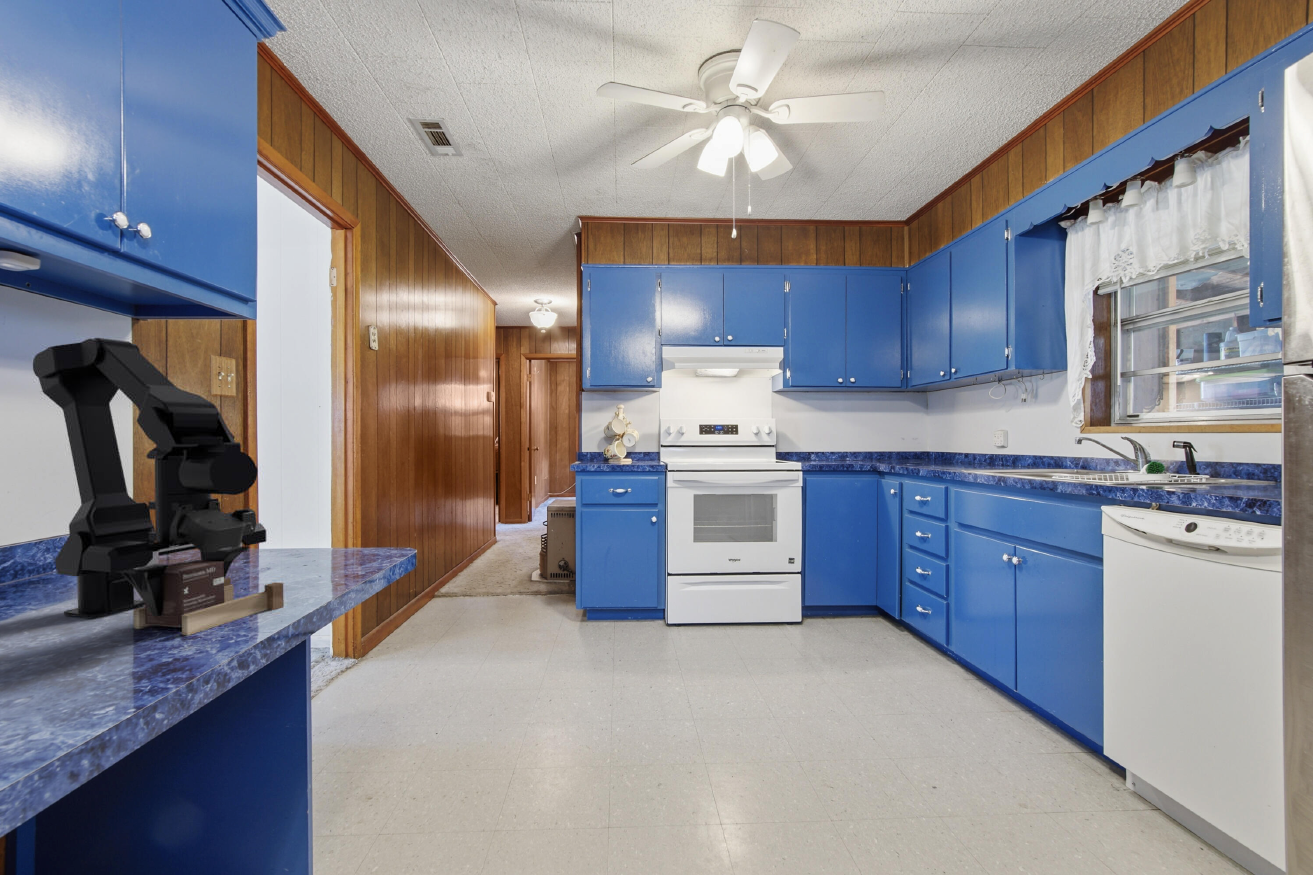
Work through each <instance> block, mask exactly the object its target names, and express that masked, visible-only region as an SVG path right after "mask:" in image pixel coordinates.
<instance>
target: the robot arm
mask: <svg viewBox="0 0 1313 875" xmlns="http://www.w3.org/2000/svg"><path fill="white" fill-rule="evenodd" d="M32 370H33V374H34V375H35V376H36V377H37V378H38V381H39V383H40V384H39V385H40V387H41V391H42V393H43V394H44V395H45V396H47V397H48V398H49V399H50V400H51V401H52V402H54V404H56V405H57V406H58V407H59V408H60V409H62V412H63V417H64V422H65V428H66V431H67V437H68V441H69V447H70V453H71V456H72V462H73V467H74V473H75V476H76V482H77V486H78V487H77V488H78V493H79V497H80V498H79V499H80V503H81V505H80V507H79V508H78V510H77V511H76V513H75V514H74V515H73V517H72V519H71V520H70V522H69V525H68V531H69V535H68V537H67V539H66V541H65V542H64V544H63V546H62V547H61V549H60V550H59V552H58V554H56V555H57V556H55V558H54V563H55V568H56V572H57V575H63V576H70V577H76V583H77V584H76V587H77V607H76V608H71V609H68V610H65V611H63V615H65V616H72V617H78V618H89V619H94V618H99V617H103V616H104V617H105V616H107V615H110V614H115V613H119V612H122V611H127V610H131V609H135V608H137V607H138V608H139V607H143V606H145V604H146V606H147V607H148V609H149V610H150V612H151V613H152V614H153V615H154V616H160V615H162V609H163V593H162V575H163V573H164V571H165V570H166V568H167V566H168V565H169V564H167V563H165V564H163V563H160V556H164V555H169V554H170V555H171V554H175V553H181V552H187V551H192V550H198V551H200V559H201V560H204V561H223V562H224V563H223V570H224V578H226V576H227V573H228V571H229V569H230V567H231V565H232V563H233V562H234V560H236V558H238V557H239V556H240V555H241V554H242V553H245V552H247V551H249V549H250V548H249V546H251V545H257V544H261V543H266V542H267V529H266V528H265V527H264V525H263V524H262V523H260V522H257V516H256V514H257V513H256V511H255V510H254V509H251V508H249V507H248V508H241V509H236V510H234V512H233V511H230V512H223V511H222V509H221V502H220V501H219V498H214V497H212V495H222V496H223V495H227V496H235V495H236V496H237V495H240V494H243V493H245V492H247V491H248V490H249V489H250V488H252V487H253V485H254V484H255V482H256V481H257V477H258V472H259V471H258V466H257V465H256V463H255V460H254V459H253V458H252V457H251V456H249V454H247V453H245V452H244V451H242V445H241V442H236V441H235V436H234V435H233V433H232V432H231V431H230V429H229V428H228V426H227V424H226V422H225V420H224V419H223V416H222V414H221V413H220V411H219V409H218V407H217V406H216V405H215V404H214V403H213V402H211V401H209V400H208V399H206V398H205V397H203V396H201V395H200V394H196V393H193V392H190V391H187V390H183V389H181V388H179V387H177V386H176V385H175V384H174V383H172V381H170V379H168V378H167V377H166V376H165V374H163V373H162V372H161V371H160V370H159V369H158V368H156V366H154V364H152V362H150V361H149V360H148V358H146V357H145V356H144V355H143V354H142V353H141V350H140V348H139V347H138V345H136V344H135V343H132V342H130V341H126V340H118V339H112V338H111V339H110V338H103V337H94V338H88V339H85V340H83V341H81V342H73V343H67V344H59V345H53V346H49V347H47V348H46V349H44V350H42V351H40V352H38V353H37V354H35V356H34V357H33V362H32ZM119 390H120V391H121V392H122V393H123V395H125V396H126V398H128V399H129V400H130V401H131V402H132V403H133V404H134V405H135V406H136V408H137V409H138V411H139V413H138V416H137V418H136V422H137V424H138V426H139V427H140V429H141V430H142V431H143V433H144V435H145V436H146V437H147V438H148V440H150V441H151V442H153V443H154V444H155V445H156V446H155V447H154V448H152V449H151V450H149V451H148V453H147V454H146V458H147V460H154V493H155V494H154V500H153V501H147V502H148V504H147V503H146V502H145V501H143V502H137V501H136V500H134V499H133V498H132V497H131V496H130V495H129V493H128V488H127V484H126V478H125V473H124V469H123V463H122V459H121V454H120V449H119V444H118V440H117V434H116V430H115V425H114V420H113V416H112V415H113V414H112V410H111V407H110V406H111V405H110V404H111V401H112V400H113V398H114V397H115V396H116V395H117V393H118V391H119ZM150 510H155V514H154V515H155V517H154V518H155V525H154V524H153V521H152V518H151V511H150ZM243 544H244V545H245V546H243ZM135 590H136V592H137V594H138V595H139V596H140V598H141V600H140V599H135Z"/></svg>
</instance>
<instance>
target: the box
mask: <svg viewBox="0 0 1313 875" xmlns="http://www.w3.org/2000/svg"><path fill="white" fill-rule="evenodd" d="M223 563H224V562H223V561H204V560H200V559H191V560H185V561H181V562H176V563H169V564H167V565H168V566H167V568H166V570H165V571H164V573H163V575H162V593H163V609H162V615H160V616H154V615H153V614H152V613H151V612H150V610H149V609H148V607H147V606H146V604H145V605H144V607H145V624H147V625H151V626H161V627H173V628H182V615H185V614H188V613H191V612H195V611H198V610H202V609H205V608H209V607H212V606H215V605H219V604H222V603H225V598H224V570H223Z"/></svg>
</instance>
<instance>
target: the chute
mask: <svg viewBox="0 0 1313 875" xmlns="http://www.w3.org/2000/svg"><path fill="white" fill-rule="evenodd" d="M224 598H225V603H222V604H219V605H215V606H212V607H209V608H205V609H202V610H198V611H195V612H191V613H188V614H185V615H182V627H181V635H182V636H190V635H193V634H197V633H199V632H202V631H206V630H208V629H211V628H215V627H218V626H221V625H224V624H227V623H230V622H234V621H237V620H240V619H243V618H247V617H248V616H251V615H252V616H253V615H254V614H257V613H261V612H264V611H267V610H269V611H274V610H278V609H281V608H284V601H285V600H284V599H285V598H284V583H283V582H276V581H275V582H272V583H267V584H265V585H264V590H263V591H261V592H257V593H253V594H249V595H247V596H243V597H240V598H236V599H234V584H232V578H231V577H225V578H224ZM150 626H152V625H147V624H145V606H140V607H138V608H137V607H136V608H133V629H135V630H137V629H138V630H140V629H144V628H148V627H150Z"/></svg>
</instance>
